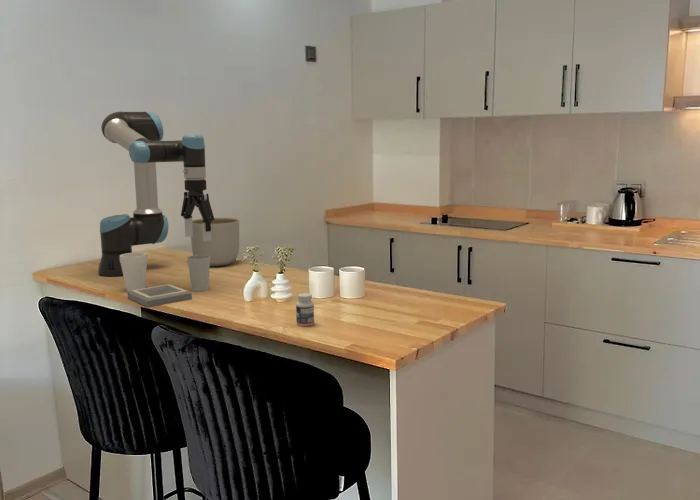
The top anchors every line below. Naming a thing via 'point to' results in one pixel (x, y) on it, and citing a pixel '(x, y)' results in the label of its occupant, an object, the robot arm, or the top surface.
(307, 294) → the pill bottle
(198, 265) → the cup
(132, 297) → the grey square tray
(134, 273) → the foam cup
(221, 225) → the planter
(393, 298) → the top surface
